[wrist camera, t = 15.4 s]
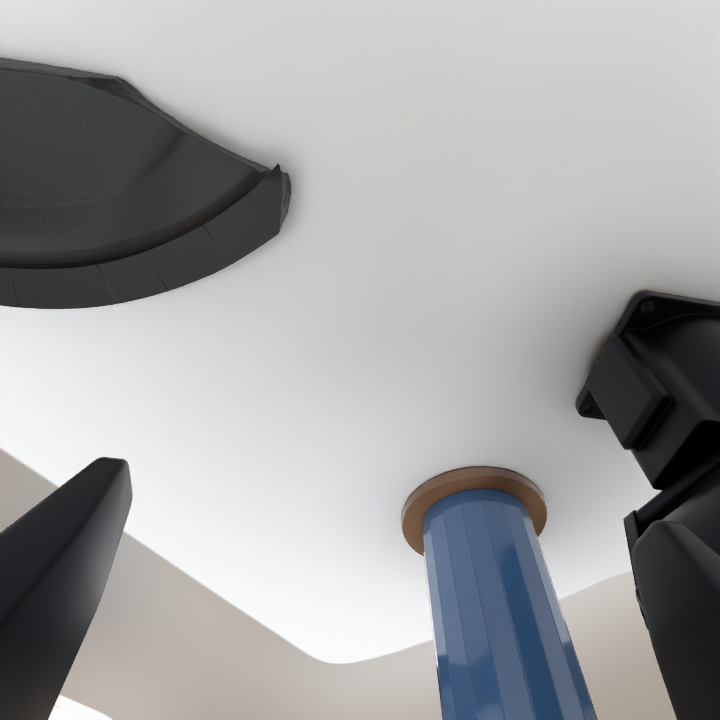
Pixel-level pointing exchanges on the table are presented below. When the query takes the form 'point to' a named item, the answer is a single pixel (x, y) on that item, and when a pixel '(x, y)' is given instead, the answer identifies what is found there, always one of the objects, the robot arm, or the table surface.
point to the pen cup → (497, 614)
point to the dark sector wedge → (116, 193)
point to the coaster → (465, 481)
